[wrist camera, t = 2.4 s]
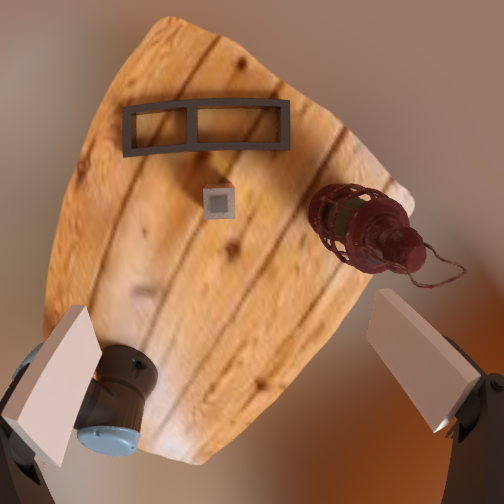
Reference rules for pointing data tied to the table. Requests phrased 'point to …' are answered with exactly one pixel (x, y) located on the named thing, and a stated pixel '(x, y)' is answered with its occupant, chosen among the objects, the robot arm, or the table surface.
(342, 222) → the lantern
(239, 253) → the table surface
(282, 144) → the dark grey divided frame
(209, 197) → the block
